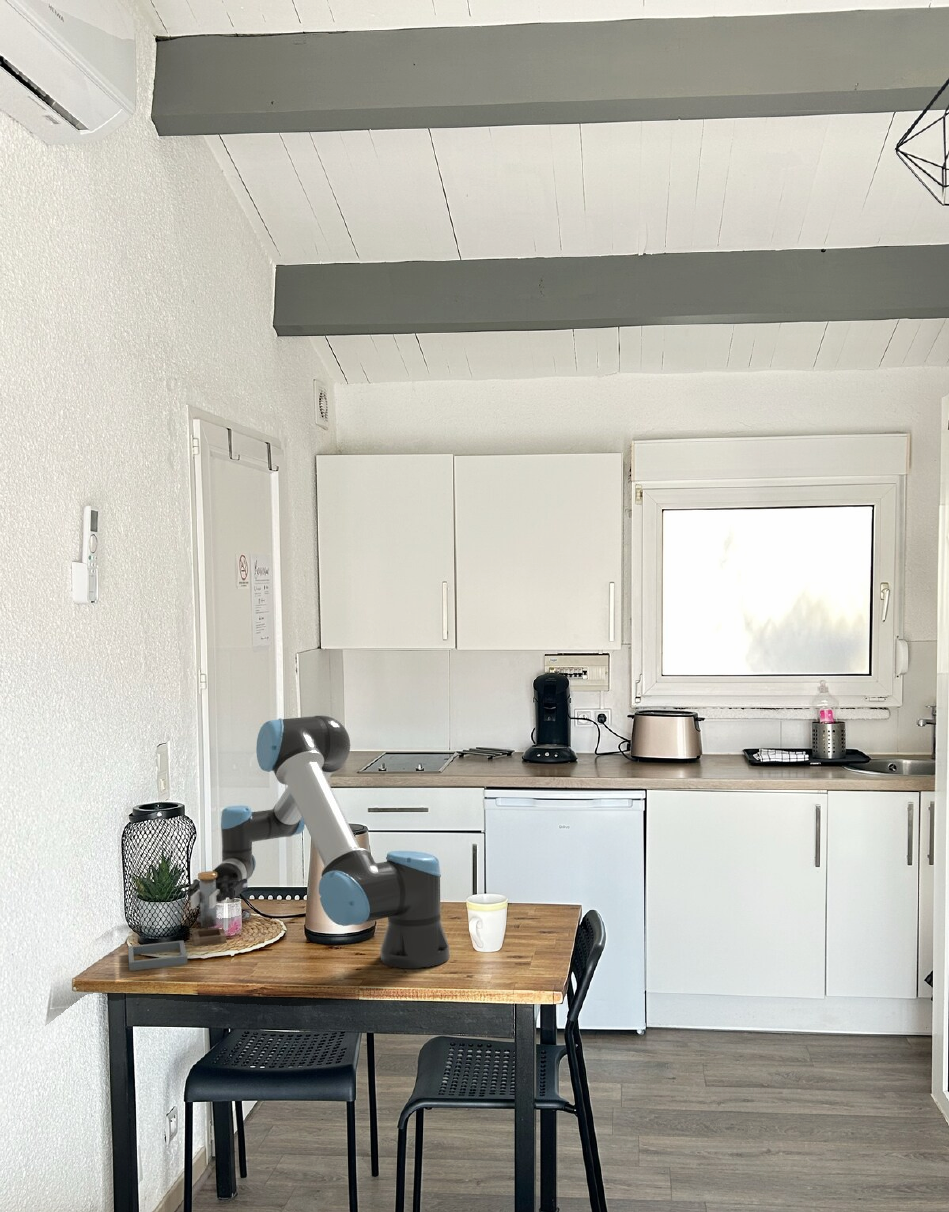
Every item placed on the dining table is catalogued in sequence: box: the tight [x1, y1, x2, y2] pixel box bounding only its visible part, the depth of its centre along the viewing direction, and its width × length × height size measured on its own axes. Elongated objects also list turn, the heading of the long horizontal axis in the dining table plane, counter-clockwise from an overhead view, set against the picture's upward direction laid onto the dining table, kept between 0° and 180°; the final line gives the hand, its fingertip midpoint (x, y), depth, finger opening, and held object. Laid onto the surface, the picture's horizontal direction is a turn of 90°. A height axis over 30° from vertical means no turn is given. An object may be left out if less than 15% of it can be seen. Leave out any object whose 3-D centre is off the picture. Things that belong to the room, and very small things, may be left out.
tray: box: [127, 939, 188, 972], centre depth 249 cm, size 12×12×2 cm
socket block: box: [192, 927, 227, 947], centre depth 262 cm, size 7×7×2 cm
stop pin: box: [197, 870, 218, 929], centre depth 263 cm, size 4×4×12 cm
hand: (201, 902), depth 257 cm, fingers closed on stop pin, 4 cm apart
